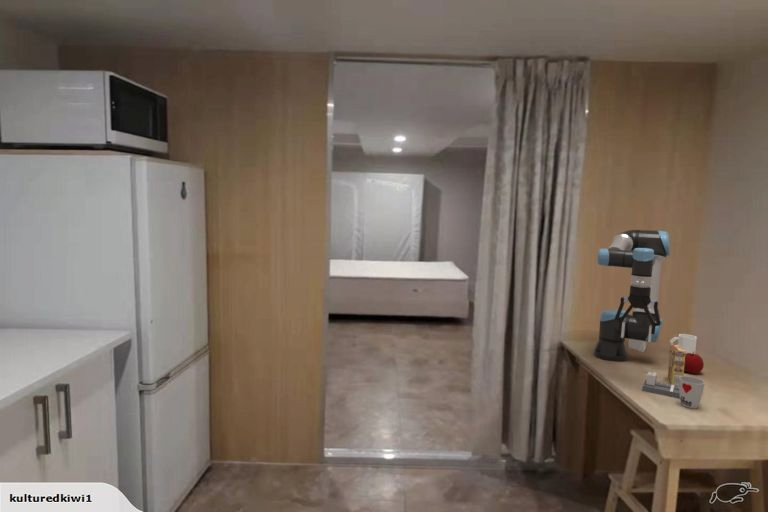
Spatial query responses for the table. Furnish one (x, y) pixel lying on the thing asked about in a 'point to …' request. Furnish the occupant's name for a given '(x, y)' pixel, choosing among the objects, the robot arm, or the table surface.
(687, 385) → the cup
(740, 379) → the table surface
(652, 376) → the fader tab
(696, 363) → the apple
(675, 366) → the candy box
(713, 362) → the table surface
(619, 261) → the robot arm
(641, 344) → the toilet paper
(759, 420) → the table surface
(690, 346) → the mug
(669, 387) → the console
